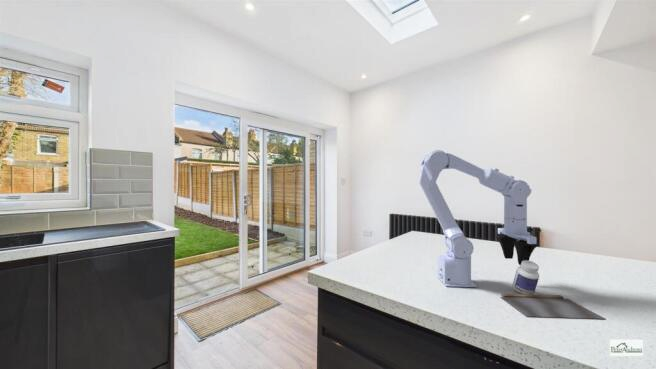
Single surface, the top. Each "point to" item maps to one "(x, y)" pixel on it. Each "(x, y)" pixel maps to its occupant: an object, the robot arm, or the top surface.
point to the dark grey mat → (548, 306)
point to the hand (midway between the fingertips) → (515, 261)
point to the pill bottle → (526, 277)
